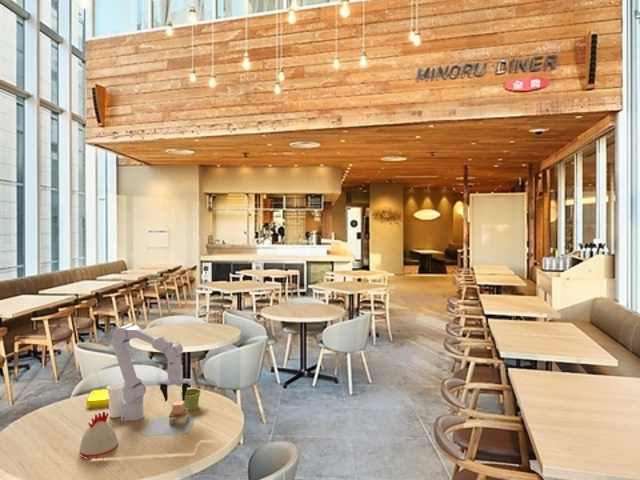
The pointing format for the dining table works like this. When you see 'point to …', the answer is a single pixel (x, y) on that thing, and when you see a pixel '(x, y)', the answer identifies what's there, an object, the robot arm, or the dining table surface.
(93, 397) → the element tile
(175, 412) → the terracotta block
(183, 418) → the birch socket block
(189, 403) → the plant pot
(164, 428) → the grey board
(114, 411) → the cup
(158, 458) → the dining table surface
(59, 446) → the dining table surface
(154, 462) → the dining table surface
